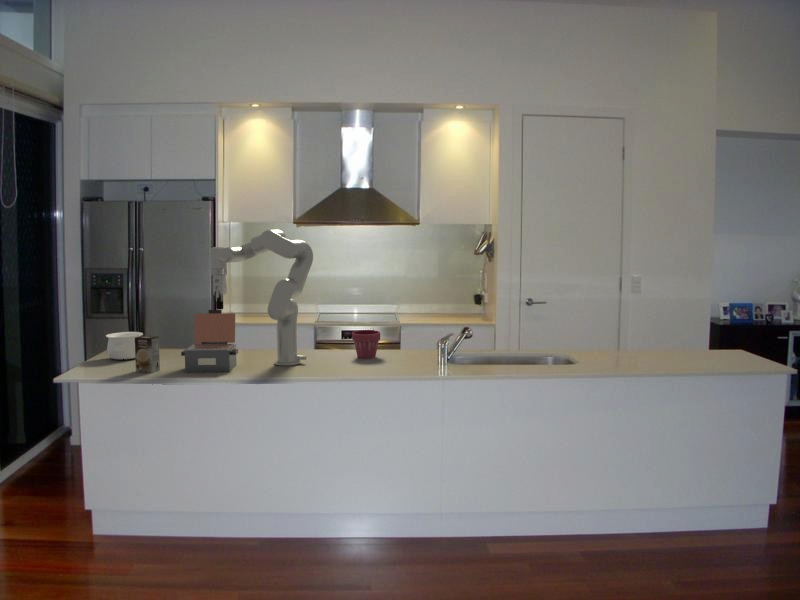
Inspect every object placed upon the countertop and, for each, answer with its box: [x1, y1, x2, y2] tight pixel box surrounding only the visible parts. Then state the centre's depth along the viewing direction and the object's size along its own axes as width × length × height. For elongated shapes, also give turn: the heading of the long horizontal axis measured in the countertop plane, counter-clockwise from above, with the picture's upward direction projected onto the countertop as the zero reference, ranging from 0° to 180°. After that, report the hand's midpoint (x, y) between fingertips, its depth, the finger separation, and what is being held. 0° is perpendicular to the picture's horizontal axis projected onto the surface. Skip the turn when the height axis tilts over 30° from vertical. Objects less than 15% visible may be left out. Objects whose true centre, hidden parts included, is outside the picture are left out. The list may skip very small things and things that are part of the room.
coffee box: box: [134, 334, 161, 374], centre depth 320 cm, size 9×6×16 cm
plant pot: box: [351, 329, 381, 360], centre depth 352 cm, size 14×14×13 cm
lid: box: [194, 309, 236, 344], centre depth 334 cm, size 19×16×3 cm
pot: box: [105, 331, 144, 361], centre depth 352 cm, size 22×17×12 cm
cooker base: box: [180, 343, 239, 373], centre depth 325 cm, size 25×17×10 cm
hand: (219, 309), depth 346 cm, fingers closed
